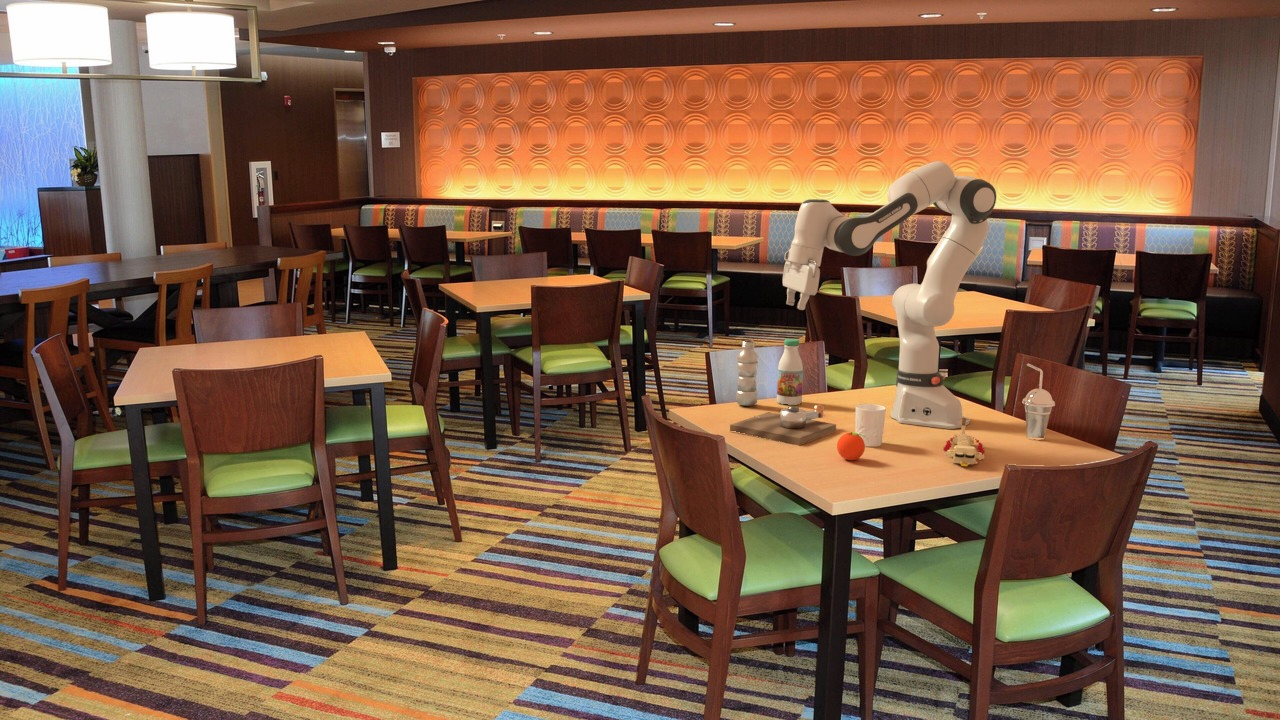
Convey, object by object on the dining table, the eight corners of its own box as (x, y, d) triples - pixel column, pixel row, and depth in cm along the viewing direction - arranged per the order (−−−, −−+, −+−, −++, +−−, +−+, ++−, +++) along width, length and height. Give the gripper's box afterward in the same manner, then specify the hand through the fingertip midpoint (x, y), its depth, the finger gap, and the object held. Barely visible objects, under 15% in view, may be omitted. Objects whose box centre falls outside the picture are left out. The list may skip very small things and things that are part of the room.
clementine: (864, 456, 268) (866, 429, 266) (871, 463, 261) (872, 436, 260) (833, 455, 268) (835, 428, 266) (839, 463, 261) (840, 435, 259)
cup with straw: (1024, 441, 284) (1030, 369, 280) (1014, 433, 292) (1020, 363, 289) (1056, 442, 283) (1063, 370, 280) (1045, 434, 292) (1051, 363, 288)
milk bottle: (774, 400, 330) (776, 337, 326) (798, 400, 331) (800, 337, 327) (780, 406, 322) (782, 341, 319) (804, 405, 323) (807, 341, 319)
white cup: (859, 448, 275) (861, 410, 273) (849, 440, 283) (851, 404, 281) (888, 447, 277) (890, 410, 275) (877, 439, 284) (879, 403, 282)
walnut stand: (835, 431, 292) (836, 423, 292) (799, 445, 277) (799, 437, 277) (768, 418, 306) (768, 411, 305) (729, 431, 290) (730, 423, 290)
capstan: (794, 429, 284) (794, 411, 283) (774, 424, 289) (775, 407, 288) (831, 420, 295) (831, 403, 294) (811, 416, 300) (812, 399, 299)
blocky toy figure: (942, 447, 282) (943, 464, 258) (944, 415, 281) (945, 429, 257) (981, 450, 280) (985, 468, 256) (983, 418, 279) (988, 433, 255)
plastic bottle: (758, 408, 319) (760, 343, 315) (736, 407, 319) (738, 343, 315) (756, 403, 325) (758, 339, 321) (734, 403, 325) (736, 339, 322)
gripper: (829, 262, 278) (818, 314, 280) (804, 256, 298) (794, 304, 300) (806, 259, 276) (796, 310, 279) (783, 252, 296) (773, 300, 298)
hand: (795, 307), depth 289 cm, fingers open, 8 cm apart
